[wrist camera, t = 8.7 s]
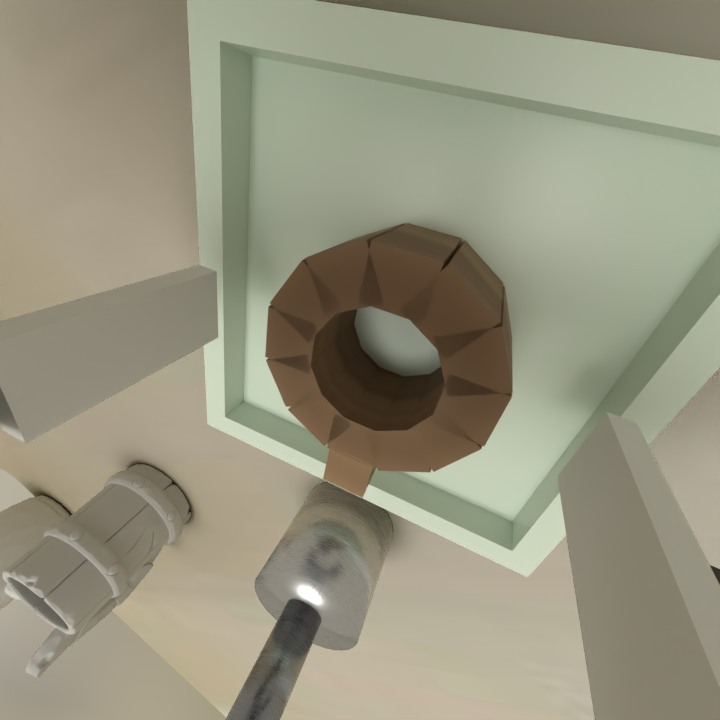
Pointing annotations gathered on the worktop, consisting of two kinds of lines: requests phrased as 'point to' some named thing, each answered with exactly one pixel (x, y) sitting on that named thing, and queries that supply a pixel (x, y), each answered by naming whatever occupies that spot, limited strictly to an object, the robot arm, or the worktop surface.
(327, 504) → the grey bottle
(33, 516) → the mug
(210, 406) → the tray
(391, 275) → the ring
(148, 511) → the mug
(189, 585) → the worktop surface
